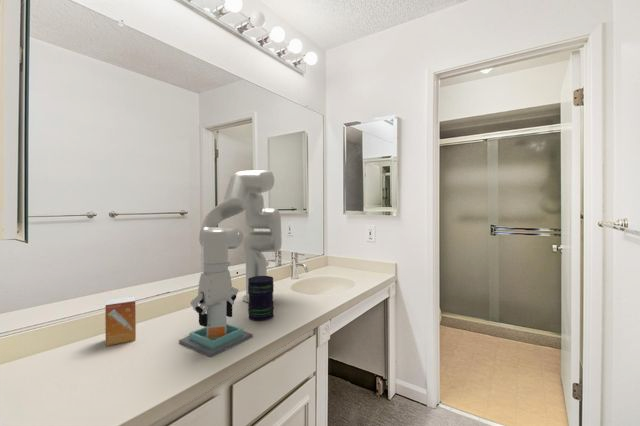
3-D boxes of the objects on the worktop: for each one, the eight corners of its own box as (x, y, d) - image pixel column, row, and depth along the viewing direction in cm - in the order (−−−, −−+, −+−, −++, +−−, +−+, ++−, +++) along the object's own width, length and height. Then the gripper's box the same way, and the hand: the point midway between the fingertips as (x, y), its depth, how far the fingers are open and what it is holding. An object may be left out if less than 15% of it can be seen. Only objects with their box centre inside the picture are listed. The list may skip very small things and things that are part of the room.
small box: (105, 347, 92) (104, 304, 92) (106, 339, 98) (105, 299, 97) (136, 340, 97) (135, 300, 96) (135, 333, 102) (134, 295, 102)
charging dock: (221, 326, 108) (221, 318, 108) (252, 336, 99) (252, 327, 99) (179, 343, 95) (178, 333, 94) (210, 357, 86) (210, 346, 86)
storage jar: (253, 323, 111) (253, 283, 110) (244, 315, 119) (244, 277, 119) (278, 317, 116) (277, 279, 116) (267, 310, 124) (267, 274, 124)
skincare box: (206, 340, 94) (206, 302, 94) (207, 334, 98) (207, 298, 98) (226, 338, 96) (226, 300, 96) (226, 332, 100) (226, 297, 100)
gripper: (229, 262, 106) (230, 310, 106) (183, 271, 91) (184, 327, 92) (244, 264, 101) (244, 315, 102) (198, 274, 87) (199, 332, 87)
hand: (216, 320), depth 97 cm, fingers open, 9 cm apart
